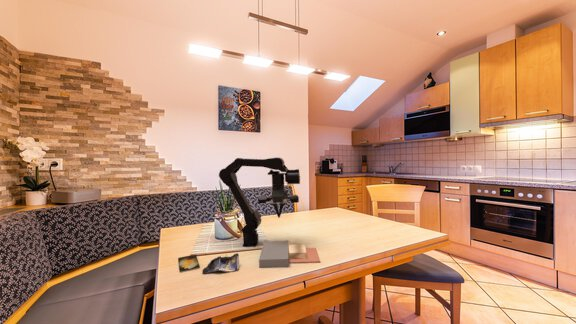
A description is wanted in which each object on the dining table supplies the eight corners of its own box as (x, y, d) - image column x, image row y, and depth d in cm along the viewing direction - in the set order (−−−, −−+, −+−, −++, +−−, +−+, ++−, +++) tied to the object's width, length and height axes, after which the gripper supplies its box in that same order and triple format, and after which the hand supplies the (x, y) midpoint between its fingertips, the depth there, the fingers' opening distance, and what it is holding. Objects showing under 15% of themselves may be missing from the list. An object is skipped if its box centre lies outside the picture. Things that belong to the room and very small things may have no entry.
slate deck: (259, 267, 89) (259, 259, 89) (264, 247, 109) (264, 241, 109) (288, 266, 89) (288, 258, 89) (288, 247, 109) (288, 240, 109)
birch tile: (288, 259, 94) (288, 253, 94) (288, 250, 103) (288, 244, 103) (306, 258, 94) (306, 252, 94) (304, 250, 103) (304, 244, 103)
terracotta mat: (289, 263, 92) (289, 262, 92) (288, 249, 106) (288, 248, 106) (320, 262, 92) (320, 261, 92) (315, 248, 106) (315, 247, 106)
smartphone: (196, 254, 103) (200, 267, 89) (196, 255, 103) (200, 269, 89) (177, 257, 99) (179, 272, 86) (177, 259, 99) (179, 274, 86)
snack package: (218, 282, 80) (244, 267, 89) (215, 262, 80) (241, 249, 90) (197, 278, 87) (224, 265, 97) (194, 260, 87) (221, 248, 97)
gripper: (256, 186, 103) (257, 222, 103) (299, 185, 103) (299, 221, 104) (259, 184, 114) (259, 216, 115) (297, 183, 114) (298, 215, 115)
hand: (279, 217), depth 111 cm, fingers closed
